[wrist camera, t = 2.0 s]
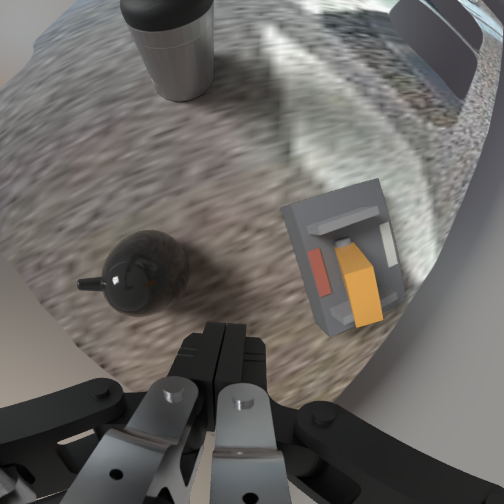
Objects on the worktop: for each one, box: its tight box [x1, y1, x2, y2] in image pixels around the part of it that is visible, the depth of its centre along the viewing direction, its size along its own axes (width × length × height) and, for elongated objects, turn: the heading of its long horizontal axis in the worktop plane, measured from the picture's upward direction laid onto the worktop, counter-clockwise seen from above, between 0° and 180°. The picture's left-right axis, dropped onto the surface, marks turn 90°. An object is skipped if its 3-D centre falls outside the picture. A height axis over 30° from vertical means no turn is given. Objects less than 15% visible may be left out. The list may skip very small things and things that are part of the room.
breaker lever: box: [334, 237, 383, 328], centre depth 28 cm, size 6×2×13 cm, turn 19°
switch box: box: [280, 178, 406, 337], centre depth 35 cm, size 18×13×10 cm
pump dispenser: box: [77, 230, 190, 317], centre depth 30 cm, size 10×10×15 cm
